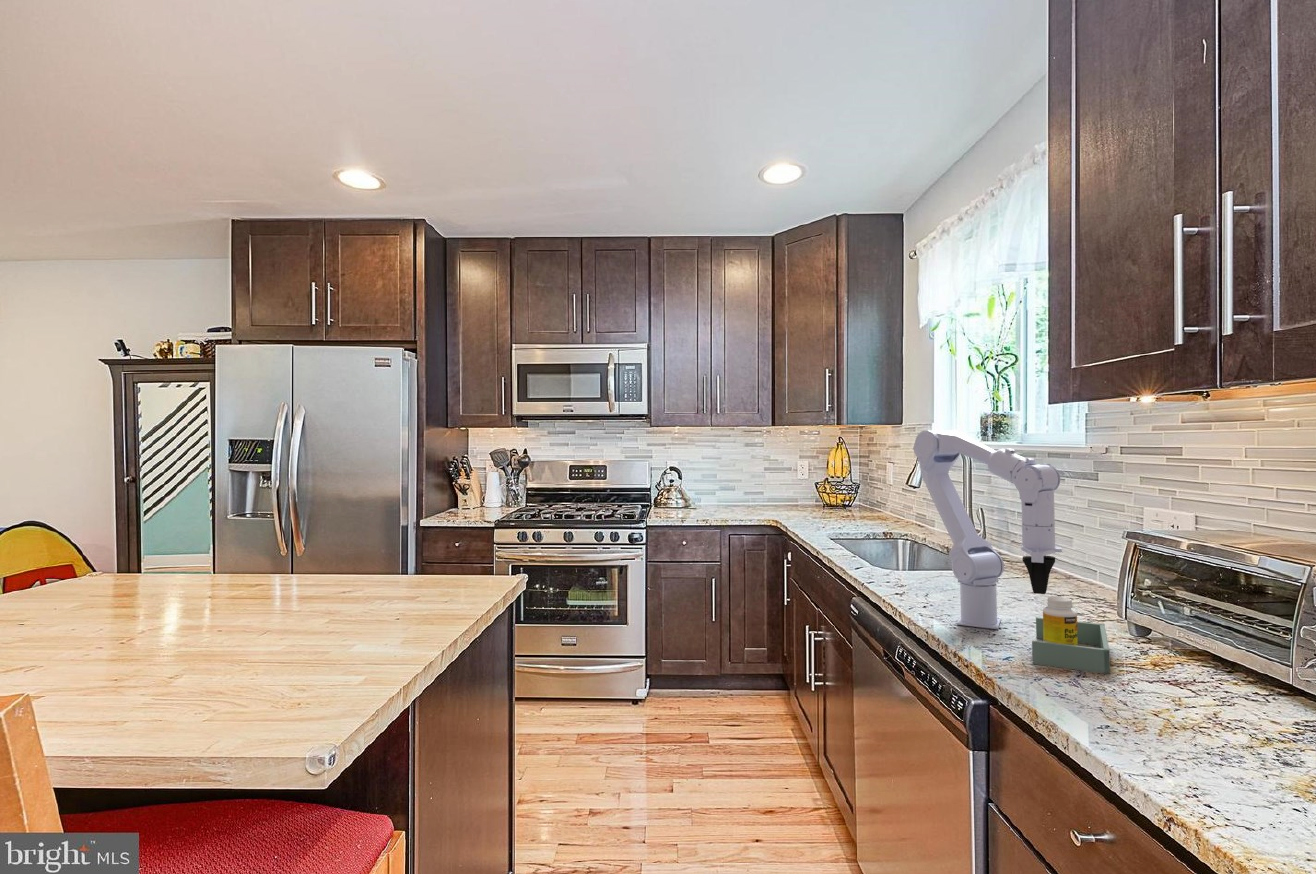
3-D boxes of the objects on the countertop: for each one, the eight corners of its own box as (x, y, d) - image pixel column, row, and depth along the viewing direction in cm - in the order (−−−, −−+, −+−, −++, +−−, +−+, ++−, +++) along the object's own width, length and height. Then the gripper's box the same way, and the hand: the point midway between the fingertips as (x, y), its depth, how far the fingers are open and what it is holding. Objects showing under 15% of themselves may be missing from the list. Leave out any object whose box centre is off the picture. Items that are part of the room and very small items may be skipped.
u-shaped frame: (1036, 637, 138) (1036, 617, 138) (1105, 644, 132) (1104, 624, 132) (1032, 663, 122) (1032, 641, 122) (1110, 674, 116) (1109, 650, 116)
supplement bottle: (1066, 659, 124) (1065, 603, 124) (1037, 651, 129) (1036, 597, 129) (1084, 654, 126) (1083, 599, 126) (1054, 647, 131) (1053, 593, 131)
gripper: (1061, 530, 127) (1062, 603, 127) (1061, 521, 140) (1063, 587, 140) (1018, 528, 131) (1020, 599, 131) (1022, 520, 143) (1024, 584, 143)
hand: (1039, 593), depth 136 cm, fingers closed
